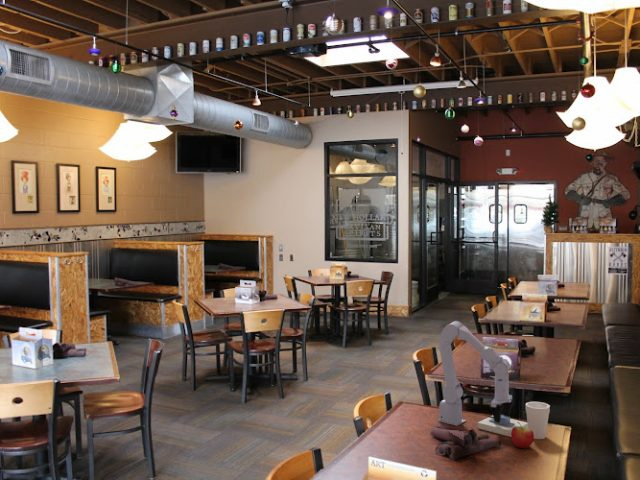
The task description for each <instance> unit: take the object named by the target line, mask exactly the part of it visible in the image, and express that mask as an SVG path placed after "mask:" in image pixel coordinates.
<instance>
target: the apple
mask: <svg viewBox="0 0 640 480" xmlns="http://www.w3.org/2000/svg"><path fill="white" fill-rule="evenodd" d="M518 423H519V422H518ZM519 424H520V423H519ZM520 426H521V425H520ZM520 426H518V427H514V428H513V429H512V431H511V437H510V438H511V440H512V443H514V445H515V446H516V447H518V448H520V449H528V448H529V447H530V446H532V444H533V442H534V440H535V439H534V434H533V431H532V430H530V429H528V428H525V427H522V426H521V427H520Z"/></svg>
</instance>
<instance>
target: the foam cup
mask: <svg viewBox="0 0 640 480" xmlns="http://www.w3.org/2000/svg"><path fill="white" fill-rule="evenodd" d="M550 407H551V405H550V404H548V403H546V402H541V401H529V402H526V403H525V413H526V418H527V419H526V420H527V423H528V429H530V430H532V431H533V434H534V439H533V440H544V439H545V438H546V436H547V431H548V423H549V422H548V421H549V415H550V412H551V411H550Z"/></svg>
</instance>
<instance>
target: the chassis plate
mask: <svg viewBox="0 0 640 480" xmlns="http://www.w3.org/2000/svg"><path fill="white" fill-rule="evenodd" d="M491 416H492V417H493V414H492V415H491ZM491 419H493V418H489V417H488V416H487V418H485V419H482V420H480V421H478V422H477V429H479V430H483V431H486V432H487V431H488V432H490V433H494V434H499V435H502V436H506V437H510V438H512V437H511V431H512V429H513V428H514V427H518V426H520V425H521V426H522V427H525V428H528V421H527V422H526V421H523V420H522V421H521V420H518V419H514V418H510V423H514V424H515V425H514V426H512V427H509V426H503V425H499V424H495V423H493V422H489V420H491ZM518 422H519V423H520V424H519V423H518ZM521 426H520V427H521Z"/></svg>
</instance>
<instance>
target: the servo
mask: <svg viewBox="0 0 640 480" xmlns="http://www.w3.org/2000/svg"><path fill="white" fill-rule="evenodd" d="M488 417H489V418H493V419H491V420H489V422H493V423H495V424H499V425H503V426H509V427H512V426H514V425H515V424H514V423H510V419H511V416H509V417H508V416H504V415H503V414H501V419H500V423H497V422H495V421H494V417H492V415H488V416H487V418H488Z"/></svg>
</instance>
